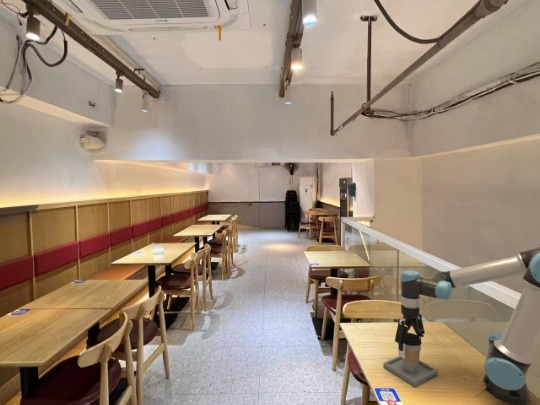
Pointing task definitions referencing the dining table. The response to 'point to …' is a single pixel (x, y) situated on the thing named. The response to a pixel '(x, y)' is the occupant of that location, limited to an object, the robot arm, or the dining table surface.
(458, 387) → the dining table surface
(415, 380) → the tray
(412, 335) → the coffee cup
